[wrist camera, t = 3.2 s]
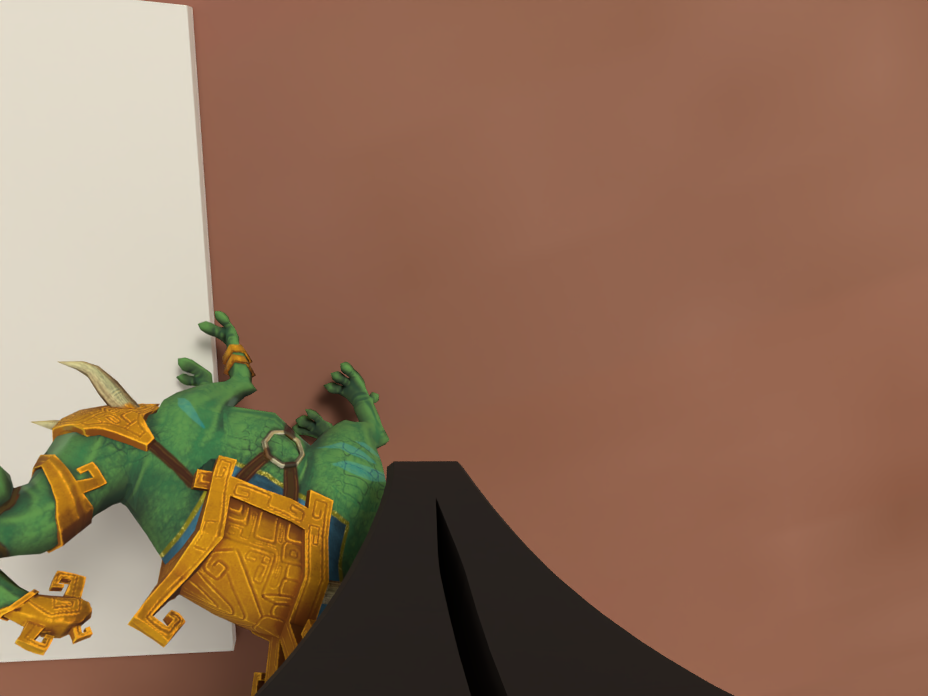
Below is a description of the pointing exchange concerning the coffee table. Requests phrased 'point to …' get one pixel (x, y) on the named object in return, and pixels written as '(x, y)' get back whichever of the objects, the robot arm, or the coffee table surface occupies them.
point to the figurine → (202, 503)
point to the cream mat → (99, 274)
